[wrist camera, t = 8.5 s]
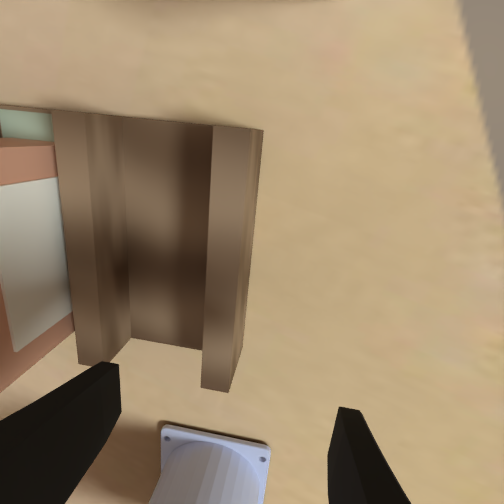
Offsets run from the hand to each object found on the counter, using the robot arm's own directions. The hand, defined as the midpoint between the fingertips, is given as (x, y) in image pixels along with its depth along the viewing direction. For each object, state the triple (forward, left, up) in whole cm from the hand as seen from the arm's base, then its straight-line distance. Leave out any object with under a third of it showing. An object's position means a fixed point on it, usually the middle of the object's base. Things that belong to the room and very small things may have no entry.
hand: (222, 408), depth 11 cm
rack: (+2, +12, -9) cm, 15 cm away
